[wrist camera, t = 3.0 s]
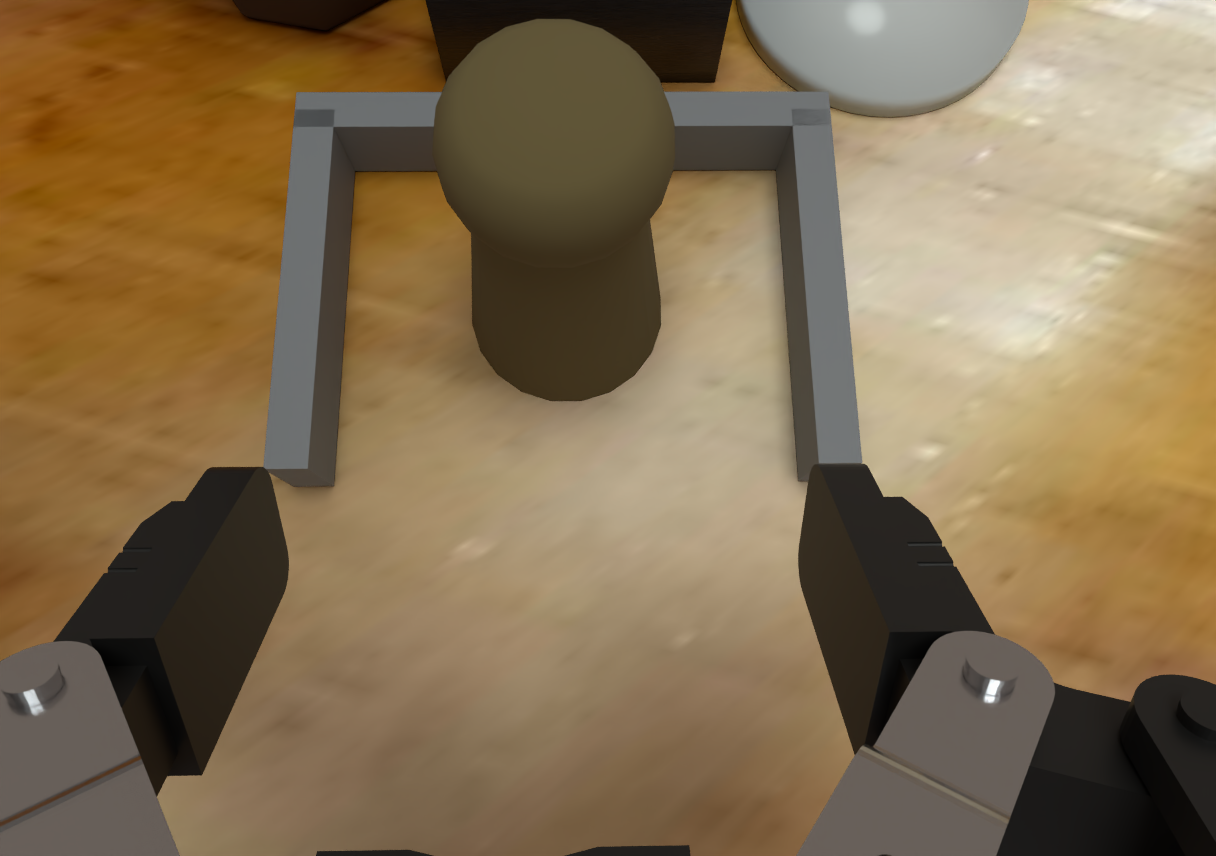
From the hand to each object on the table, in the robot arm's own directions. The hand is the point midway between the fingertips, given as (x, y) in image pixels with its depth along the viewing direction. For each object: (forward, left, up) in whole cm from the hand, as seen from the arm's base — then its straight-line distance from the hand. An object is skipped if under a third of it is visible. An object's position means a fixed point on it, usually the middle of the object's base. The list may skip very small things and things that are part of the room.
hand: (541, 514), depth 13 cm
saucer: (+11, +21, -13) cm, 27 cm away
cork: (0, +9, -13) cm, 16 cm away
